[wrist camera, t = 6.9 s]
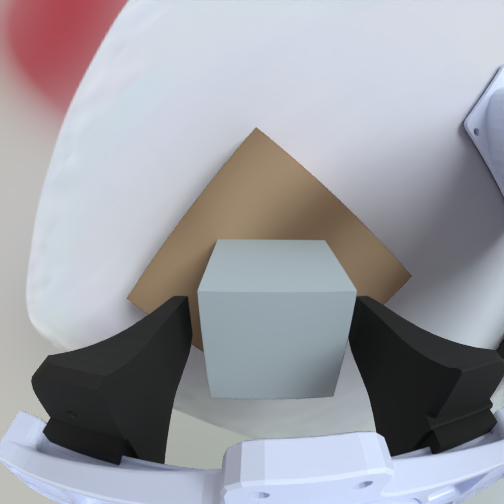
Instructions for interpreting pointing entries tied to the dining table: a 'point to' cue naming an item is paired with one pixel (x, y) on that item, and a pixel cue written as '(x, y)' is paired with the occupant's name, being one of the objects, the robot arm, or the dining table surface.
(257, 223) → the plinth
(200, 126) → the dining table surface
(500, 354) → the figurine
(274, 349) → the block
